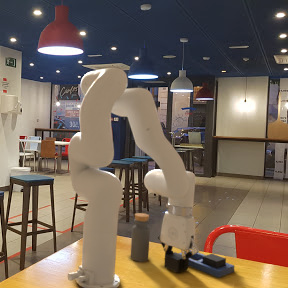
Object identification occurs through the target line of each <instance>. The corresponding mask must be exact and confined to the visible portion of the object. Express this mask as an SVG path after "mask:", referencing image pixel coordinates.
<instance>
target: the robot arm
mask: <svg viewBox="0 0 288 288" xmlns="http://www.w3.org/2000/svg"><path fill="white" fill-rule="evenodd" d="M127 87H128V76H127V73H126V72H125V71H124V70H123V69H121V68H119V67H106V68H101V69H96V70H92V71H89V72H87V73H86V74H84V76H83V77H82V78H81V81H80V91H81V93H82V94H83V99H82V101H81V104H80V107H79V116H78V117H79V131H80V132H77V133H76V134H74V135H73V136H72V137H71V138H70V141H69V142H68V147H67V157H68V165H69V172H70V181H71V185H72V189H73V191H74V192H75V194H76V195H77V196H79V197H80V198H82V199H84V200H86V201H88V203H87V207H86V209H85V211H84V217H83V226H82V227H83V228H82V248H81V249H82V250H81V265H79V266H78V269H77V270H76V271H75V272H74V271H73V272H70V273H67V279H68V281H70V282H71V281H74V280H75V282H76V284H77V285H79V286H80V287H81V288H119V286H120V284H121V279H120V277H119V275H118V274H116V261H117V260H116V259H117V258H116V255H117V241H118V224H119V212H120V207H121V203H122V199H123V195H124V189H123V188H124V187H123V184H122V181H121V180H120V179H119V178H118V176H116V175H115V174H113V173H111V172H109V171H106V170H102V169H100V168H106V167H107V166H110V165H111V164H112V162H113V160H114V157H115V148H114V141H113V140H114V139H113V138H114V137H113V130H112V114H113V115H115V116H118V117H121V118H123V117H124V118H125V117H126V118H127V119H128V123H129V127H130V129H131V132H132V135H133V139H134V142H135V145H136V146H137V148H139V149H140V150H141V151H142V152H143V153H144V154H145V155H147V156H148V157H150V158H151V159H152V160H153V161H154V162H155V163H156V165H157V166H158V167H159V168H160V169H152V170H150V171H148V172H147V173H146V174H145V176H144V179H143V184H144V187H145V189H146V190H147V191H149V192H150V193H152V194H155V195H157V196H161V197H165V198H168V201H167V202H166V203H165V208H167V211H165V213H164V215H163V219H162V222H161V229H160V234H159V235H158V237H157V239H158V241H159V242H160V244H161V246H162V248H163V252H164V256H165V255H167V254H171V253H174V250H173V248H174V249H177V250H180V253H182V258H181V259H180V271H181V272H184V271H187V270H188V269H189V266H188V262H189V258H190V257H191V256H193V255H194V254H196V253H200V249H199V247H198V245H197V244H196V221H195V217H194V215H193V214H194V203H195V202H194V201H195V192H196V191H195V190H196V189H195V188H196V174H195V173H193V172H192V171H188V170H186V167H185V164H184V161H183V159H182V157H181V155H180V154H179V153H178V152H177V150H176V149H175V147H174V146H173V144H172V143H171V142H170V141H169V140H168V139H167V137H166V136H165V133H164V131H163V127H162V124H161V119H160V117H159V111H158V110H157V106H156V101H155V99H154V96H153V94H152V93H151V91H150V90H148V89H146V88H142V87H131V88H127ZM190 250H191V251H190ZM190 259H191V258H190Z"/></svg>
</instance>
